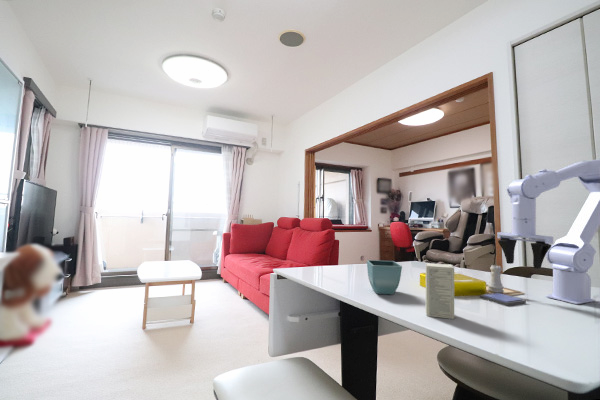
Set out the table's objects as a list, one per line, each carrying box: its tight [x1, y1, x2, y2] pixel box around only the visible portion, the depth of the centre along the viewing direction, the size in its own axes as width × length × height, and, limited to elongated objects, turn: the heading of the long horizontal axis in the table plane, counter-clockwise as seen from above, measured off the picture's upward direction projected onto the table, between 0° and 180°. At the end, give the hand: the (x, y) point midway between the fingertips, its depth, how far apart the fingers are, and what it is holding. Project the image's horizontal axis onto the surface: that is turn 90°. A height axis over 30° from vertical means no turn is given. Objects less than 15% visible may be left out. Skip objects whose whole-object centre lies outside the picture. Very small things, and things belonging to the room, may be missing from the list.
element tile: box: [419, 271, 487, 298], centre depth 100 cm, size 15×15×5 cm
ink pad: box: [479, 293, 526, 307], centre depth 89 cm, size 8×8×1 cm
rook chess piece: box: [487, 264, 505, 293], centre depth 97 cm, size 4×4×8 cm
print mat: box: [486, 284, 525, 297], centre depth 100 cm, size 11×11×1 cm
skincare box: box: [425, 262, 455, 320], centre depth 75 cm, size 6×4×12 cm
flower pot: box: [366, 259, 403, 295], centre depth 94 cm, size 9×9×9 cm
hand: (523, 265), depth 91 cm, fingers open, 7 cm apart
